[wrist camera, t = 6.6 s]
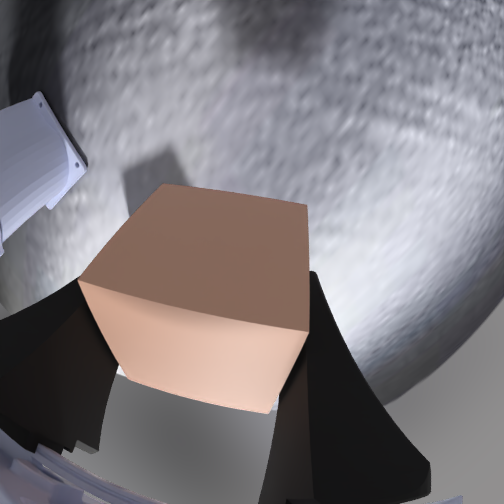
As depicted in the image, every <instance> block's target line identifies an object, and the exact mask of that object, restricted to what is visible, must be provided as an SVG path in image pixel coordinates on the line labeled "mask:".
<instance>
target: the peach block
mask: <svg viewBox="0 0 504 504" xmlns="http://www.w3.org/2000/svg"><path fill="white" fill-rule="evenodd" d="M78 283H79V285H80V287H81V290H82V292H83V294H84V297H85V299H86V301H87V303H88V306H89V308H90V310H91V312H92V314H93V316H94V318H95V320H96V322H97V324H98V326H99V328H100V330H101V332H102V334H103V336H104V338H105V340H106V342H107V344H108V345H109V347H110V349H111V351H112V353H113V354H114V356H115V358H116V360H117V361H118V363H119V365H120V366H121V368H122V370H123V371H124V373H125V375H126V376H127V378H128V379H129V380H132V381H135V382H137V383H140V384H143V385H146V386H149V387H152V388H155V389H159V390H162V391H166V392H169V393H172V394H176V395H179V396H183V397H187V398H190V399H194V400H199V401H203V402H207V403H211V404H216V405H220V406H225V407H230V408H236V409H241V410H247V411H253V412H260V413H266V414H268V413H269V412H270V410H271V408H272V406H273V404H274V402H275V401H276V399H277V397H278V395H279V393H280V391H281V389H282V387H283V385H284V383H285V381H286V379H287V377H288V375H289V373H290V371H291V369H292V367H293V365H294V363H295V361H296V359H297V357H298V355H299V353H300V351H301V349H302V347H303V344H304V342H305V340H306V338H307V336H308V333H309V306H310V285H309V235H308V210H307V205H305V204H299V203H294V202H288V201H283V200H277V199H271V198H265V197H259V196H253V195H247V194H240V193H234V192H227V191H220V190H213V189H205V188H198V187H190V186H182V185H173V184H164V183H163V184H162V185H161V186H160V187H159V188H158V189H157V190H156V191H155V192H154V193H153V194H152V195H151V196H150V197H149V198H148V199H147V200H146V201H145V202H144V203H143V204H142V205H141V206H140V207H139V208H138V209H137V210H136V211H135V212H134V213H133V214H132V216H131V217H130V218H129V219H128V220H127V221H126V222H125V223H124V224H123V225H122V227H121V228H120V229H119V230H118V231H117V232H116V233H115V234H114V236H113V237H112V238H111V239H110V240H109V241H108V243H107V244H106V245H105V246H104V247H103V248H102V250H101V251H100V252H99V253H98V254H97V256H96V257H95V258H94V259H93V261H92V262H91V263H90V264H89V266H88V267H87V268H86V269H85V271H84V272H83V273H82V274H81V276H80V277H79V278H78Z"/></svg>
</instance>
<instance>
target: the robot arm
mask: <svg viewBox="0 0 504 504" xmlns="http://www.w3.org/2000/svg"><path fill="white" fill-rule="evenodd" d="M78 163H79V165H78ZM86 171H87V167H86V165H85V163H84V162H83V160H82V159H81V157H80V156H79V154H78V153H77V151H76V150H75V148H74V146H73V145H72V143H71V142H70V140H69V138H68V137H67V135H66V134H65V132H64V130H63V129H62V127H61V125H60V124H59V122H58V120H57V119H56V117H55V115H54V114H53V112H52V110H51V108H50V107H49V105H48V103H47V101H46V100H45V98H44V96H43V94H42V92H41V91H38V92H36V93H35V94H34V96H33V97H32V98H31V99H28V100H25V101H23V102H20V103H17V104H15V105H12V106H10V107H7V108H5V109H3V110H0V256H1V255H2V254H3V253H4V250H3V247H2V243H3V242H4V241H5V240H6V239H7V238H8V237H9V236H10V235H11V234H12V233H13V232H14V231H15V230H16V229H17V228H18V227H20V226H21V225H22V224H23V223H24V222H25V221H26V220H27V219H28V218H30V217H31V216H32V215H33V214H34V213H35V212H37V211H38V210H39V209H40V208H41V207H42V206H44V205H46V206H47V208H48V209H52V208H53V207H54V206H55V205H56V204H57V203H58V202H59V200H60V199H61V198H62V197H63V196H64V195H65V194H66V193H67V191H68V190H69V189H70V188H71V187H72V186H73V185H74V184H75V183H76V182H77V181H78V180H79V179H80V178H81V177H82V176H83V175H84V174H85V173H86ZM79 277H80V276H79ZM79 277H78V278H79ZM78 278H76V279H74V280H73V281H72V282H70V283H69V284H67V285H66V286H64V287H63V288H61V289H59V290H58V291H56V292H54V293H53V294H51V295H49V296H48V297H46V298H44V299H42V300H41V301H39V302H37V303H35V304H33V305H31V306H29V307H27V308H25V309H23V310H21V311H19V312H17V313H15V314H13V315H11V316H9V317H6V318H4V319H2V320H0V504H106V503H103V502H101V501H99V500H97V499H94V498H92V497H90V496H88V495H86V494H84V490H85V491H87V492H89V493H91V494H92V495H94V496H96V497H98V498H100V499H102V500H104V501H107V502H109V503H111V504H167V503H163V502H161V501H158V500H155V499H152V498H149V497H146V496H143V495H140V494H138V493H135V492H133V491H130V490H128V489H125V488H123V487H120V486H118V485H116V484H114V483H112V482H109V481H107V480H105V479H103V478H101V477H99V476H97V475H95V474H93V473H91V472H89V471H87V470H85V469H84V468H82V467H80V466H78V465H76V464H74V463H73V462H71V461H69V460H68V459H66V458H64V457H63V456H61V454H62V451H63V448H64V449H65V450H67V451H69V452H70V453H72V452H73V450H74V447H77V448H79V449H81V450H84V451H86V452H88V453H90V454H93V453H96V452H98V451H99V443H100V436H101V429H102V423H103V419H104V414H105V409H106V405H107V401H108V397H109V394H110V390H111V387H112V383H113V381H114V378H115V374H116V372H117V369H118V366H119V363H118V361H117V360H116V358H115V356H114V354H113V353H112V351H111V349H110V347H109V345H108V344H107V342H106V340H105V338H104V336H103V334H102V332H101V330H100V328H99V326H98V324H97V322H96V320H95V318H94V316H93V314H92V312H91V310H90V308H89V306H88V303H87V301H86V299H85V297H84V294H83V292H82V290H81V287H80V285H79V283H78ZM309 285H310V306H309V333H308V336H307V338H306V340H305V342H304V344H303V347H302V349H301V351H300V353H299V355H298V357H297V359H296V361H295V363H294V365H293V367H292V369H291V371H290V373H289V375H288V377H287V379H286V381H285V383H284V385H283V387H282V389H281V391H280V393H279V403H278V410H277V416H276V423H275V428H274V434H273V439H272V445H271V450H270V455H269V460H268V465H267V469H266V473H265V478H264V482H263V486H262V490H261V494H260V498H259V502H258V504H400V503H404V502H408V501H412V500H416V499H419V498H422V497H425V496H427V495H429V494H430V492H431V469H430V462H429V461H428V460H427V459H426V458H425V457H424V456H423V455H422V454H421V453H420V452H419V451H418V450H417V448H416V447H415V446H414V445H413V444H412V443H411V442H410V441H409V440H408V439H407V437H406V436H405V435H404V433H403V432H402V431H401V430H400V428H399V427H398V426H397V425H396V423H395V422H394V421H393V420H392V418H391V417H390V415H389V414H388V413H387V411H386V410H385V408H384V407H383V405H382V404H381V403H380V401H379V400H378V398H377V397H376V396H375V394H374V392H373V391H372V389H371V388H370V386H369V384H368V383H367V381H366V380H365V378H364V376H363V375H362V373H361V371H360V369H359V368H358V366H357V364H356V362H355V361H354V359H353V357H352V355H351V353H350V351H349V349H348V347H347V345H346V343H345V341H344V339H343V337H342V335H341V333H340V331H339V328H338V326H337V324H336V322H335V319H334V317H333V315H332V313H331V310H330V308H329V305H328V303H327V300H326V298H325V295H324V293H323V290H322V287H321V285H320V282H319V279H318V276H317V274H316V272H314V271H309ZM42 464H43V465H44V466H46V467H48V468H49V469H47V468H45V467H43V465H42ZM462 502H463V496H461V495H460V496H456V497H453V498H448V499H446V500H442V501H437V502H432V503H425V504H462Z"/></svg>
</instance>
